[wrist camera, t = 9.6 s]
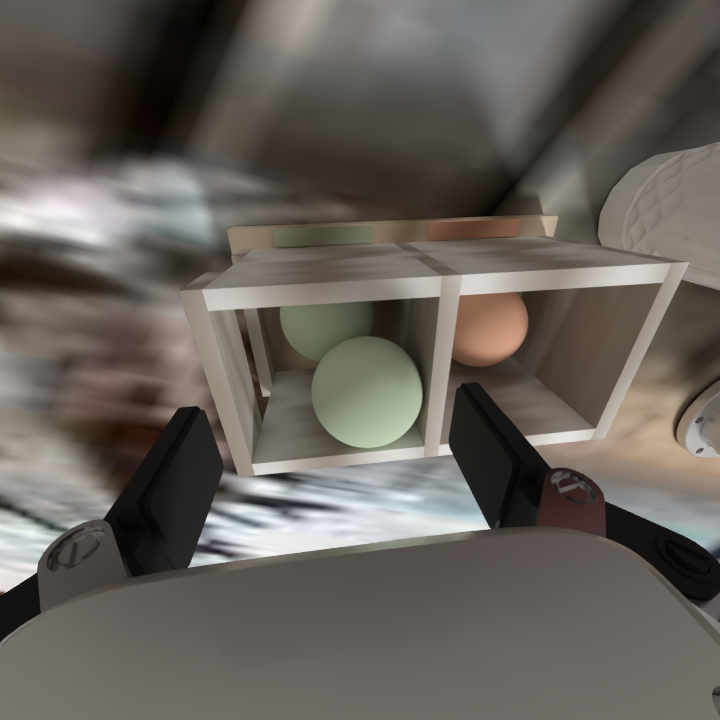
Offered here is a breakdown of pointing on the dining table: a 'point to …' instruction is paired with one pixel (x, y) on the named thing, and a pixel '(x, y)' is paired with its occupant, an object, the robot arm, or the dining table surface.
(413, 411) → the sage ball
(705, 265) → the white cup
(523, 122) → the dining table surface
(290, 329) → the sage ball
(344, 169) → the dining table surface
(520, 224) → the grey divided rectangular box
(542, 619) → the robot arm
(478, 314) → the terracotta ball
